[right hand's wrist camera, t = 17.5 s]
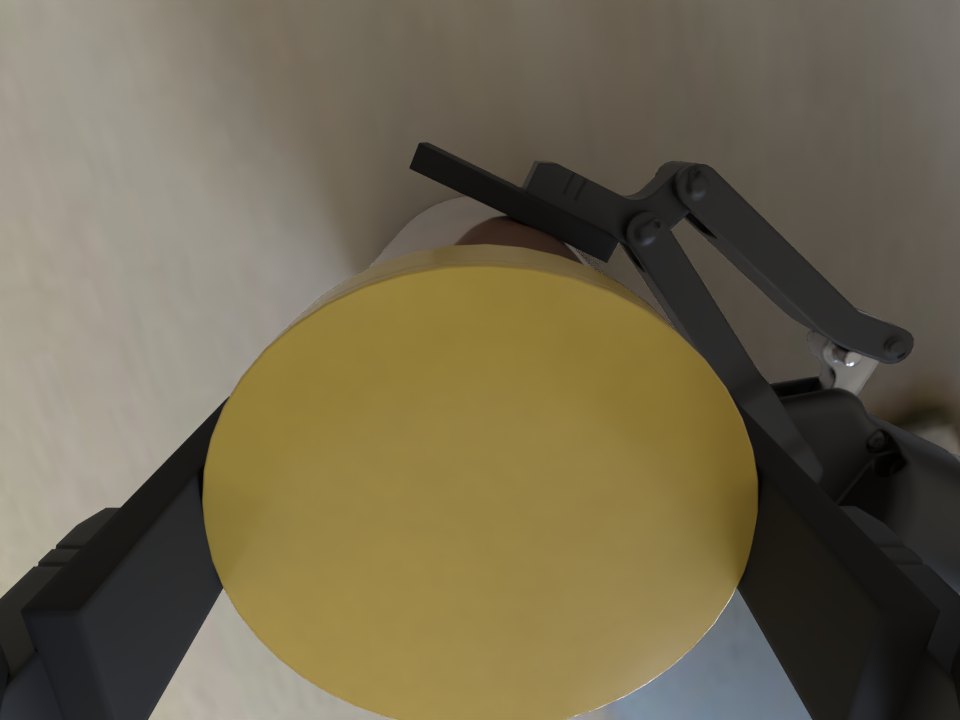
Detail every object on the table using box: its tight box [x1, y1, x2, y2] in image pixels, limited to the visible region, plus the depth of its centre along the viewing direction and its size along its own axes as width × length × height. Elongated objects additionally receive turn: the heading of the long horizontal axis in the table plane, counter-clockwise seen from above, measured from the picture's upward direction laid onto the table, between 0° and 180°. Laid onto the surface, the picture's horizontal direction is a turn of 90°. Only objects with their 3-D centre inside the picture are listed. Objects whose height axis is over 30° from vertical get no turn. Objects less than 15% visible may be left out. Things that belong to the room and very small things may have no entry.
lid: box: [202, 244, 758, 720], centre depth 12 cm, size 10×10×2 cm
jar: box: [368, 196, 592, 269], centre depth 19 cm, size 9×9×16 cm
